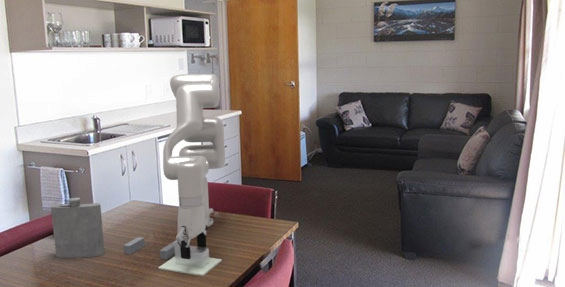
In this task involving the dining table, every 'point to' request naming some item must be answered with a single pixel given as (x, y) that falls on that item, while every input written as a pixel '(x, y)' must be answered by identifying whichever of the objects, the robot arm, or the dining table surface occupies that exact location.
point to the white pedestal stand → (192, 256)
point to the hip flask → (77, 229)
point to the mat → (189, 267)
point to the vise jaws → (139, 243)
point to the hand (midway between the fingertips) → (194, 252)
